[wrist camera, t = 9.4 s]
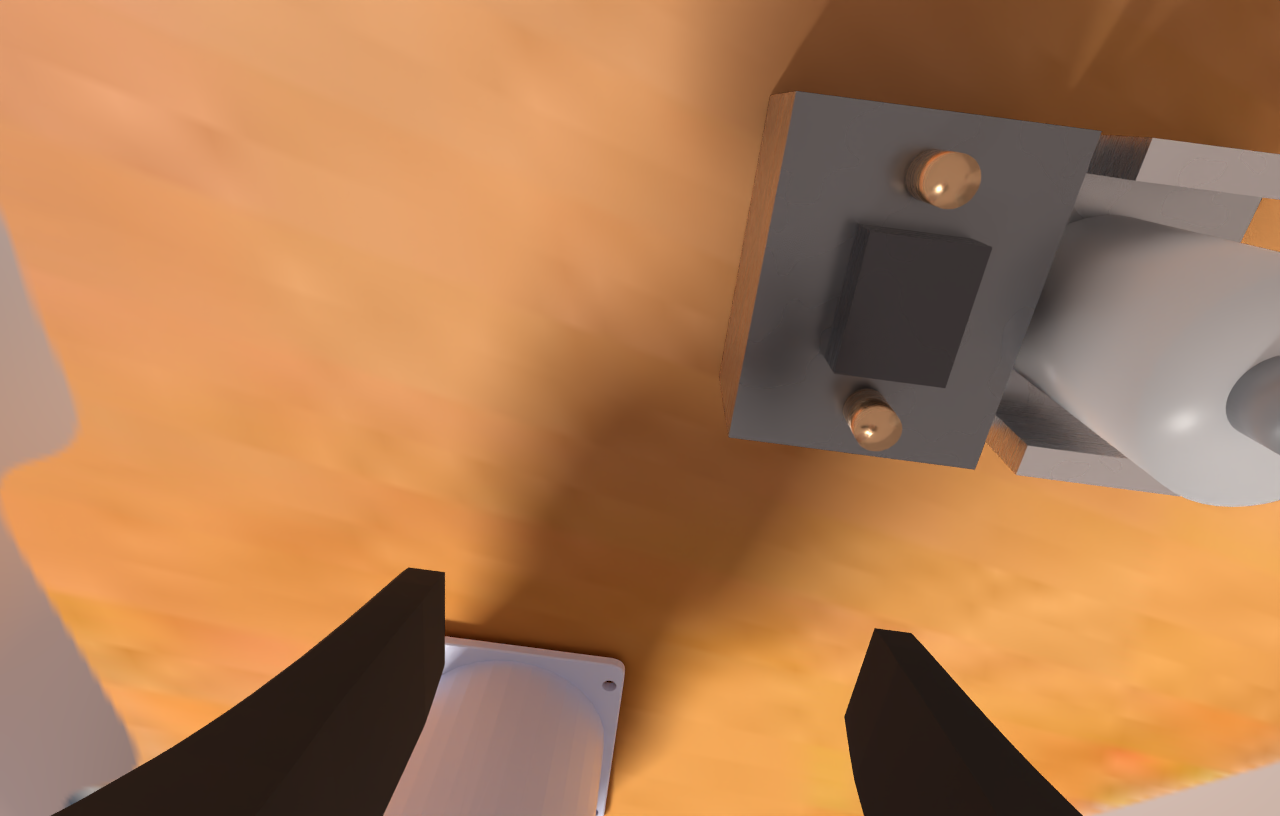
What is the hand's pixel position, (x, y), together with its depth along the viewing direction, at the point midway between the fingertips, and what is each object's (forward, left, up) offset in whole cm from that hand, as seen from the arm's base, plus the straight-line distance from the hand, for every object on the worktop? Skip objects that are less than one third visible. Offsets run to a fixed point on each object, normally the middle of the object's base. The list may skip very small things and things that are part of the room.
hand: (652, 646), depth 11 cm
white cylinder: (+5, -11, -9) cm, 15 cm away
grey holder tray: (+5, -7, -10) cm, 13 cm away
